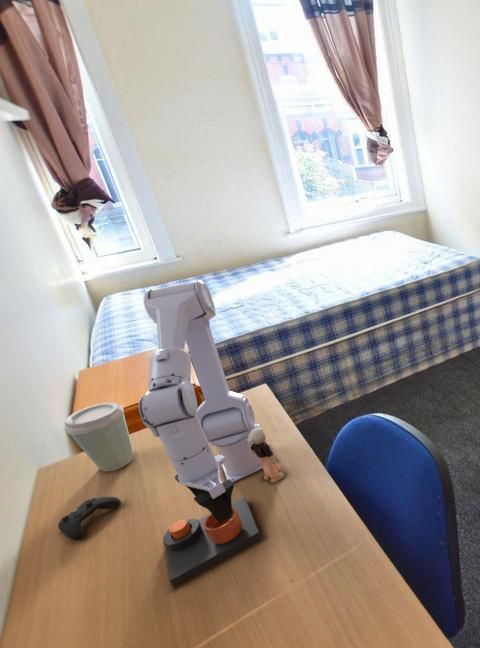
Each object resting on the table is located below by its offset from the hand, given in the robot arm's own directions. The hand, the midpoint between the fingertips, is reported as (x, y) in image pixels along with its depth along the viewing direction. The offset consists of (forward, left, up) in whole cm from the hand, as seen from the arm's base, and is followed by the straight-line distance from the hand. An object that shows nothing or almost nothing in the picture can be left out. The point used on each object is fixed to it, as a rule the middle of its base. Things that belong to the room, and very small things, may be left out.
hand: (216, 509), depth 84 cm
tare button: (+7, -5, -5) cm, 10 cm away
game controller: (+22, -27, -8) cm, 35 cm away
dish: (0, 0, -6) cm, 6 cm away
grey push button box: (+3, -2, -8) cm, 9 cm away
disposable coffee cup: (+17, -46, -8) cm, 50 cm away
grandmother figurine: (-10, -13, -8) cm, 19 cm away
